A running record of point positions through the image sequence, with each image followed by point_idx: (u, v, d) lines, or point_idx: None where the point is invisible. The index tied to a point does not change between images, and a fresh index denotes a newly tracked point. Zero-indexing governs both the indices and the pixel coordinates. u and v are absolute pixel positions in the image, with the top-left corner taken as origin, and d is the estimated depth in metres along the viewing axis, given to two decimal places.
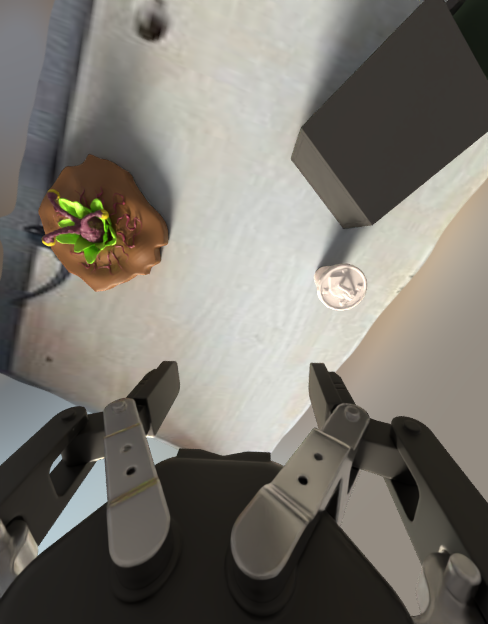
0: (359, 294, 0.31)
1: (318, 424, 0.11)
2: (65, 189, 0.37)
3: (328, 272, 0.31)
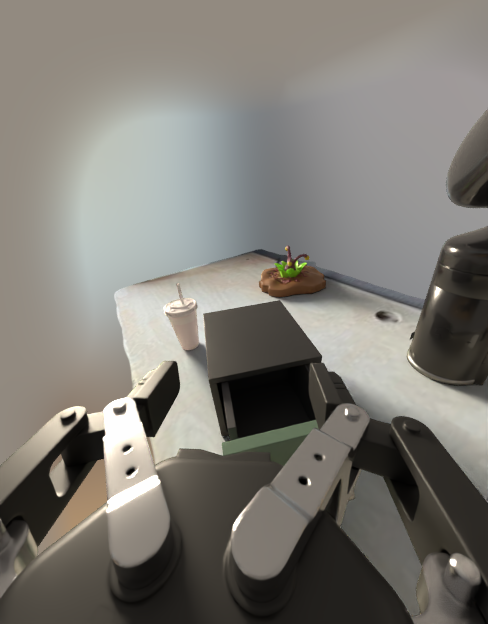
0: (168, 310, 0.44)
1: (318, 424, 0.11)
2: (313, 272, 0.73)
3: (195, 302, 0.46)
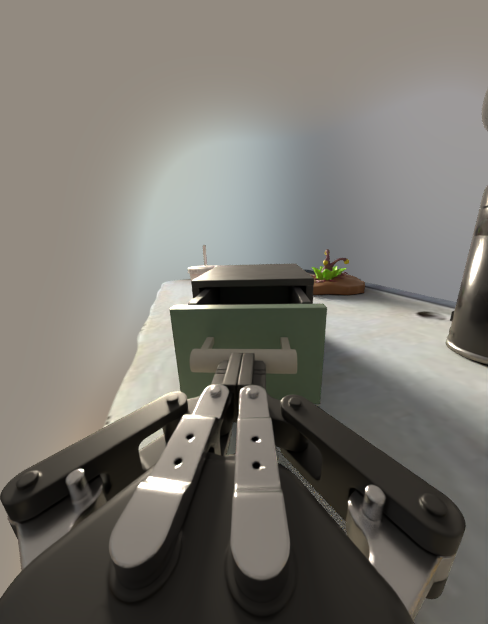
0: (191, 268, 0.48)
1: None
2: (353, 279, 0.68)
3: None
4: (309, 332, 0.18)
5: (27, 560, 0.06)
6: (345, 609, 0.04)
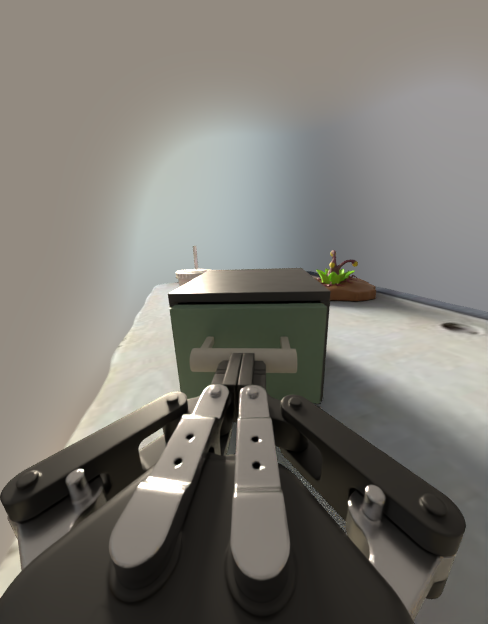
0: (179, 272, 0.41)
1: None
2: (363, 283, 0.62)
3: None
4: (309, 331, 0.18)
5: (27, 560, 0.06)
6: (345, 609, 0.04)
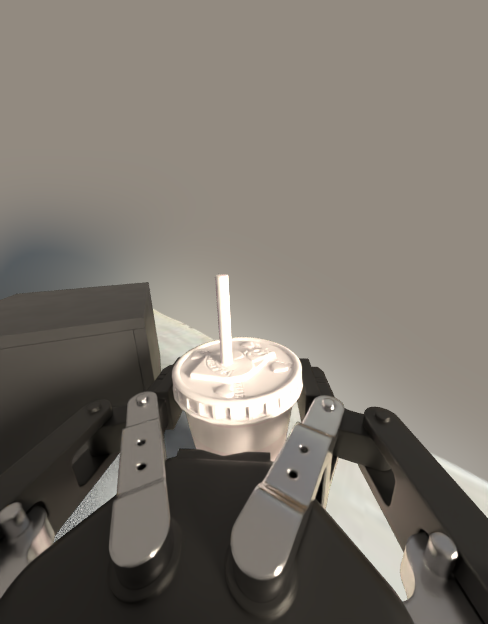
0: (266, 346, 0.13)
1: (301, 416, 0.12)
2: None
3: (176, 376, 0.11)
4: None
5: None
6: (349, 603, 0.04)
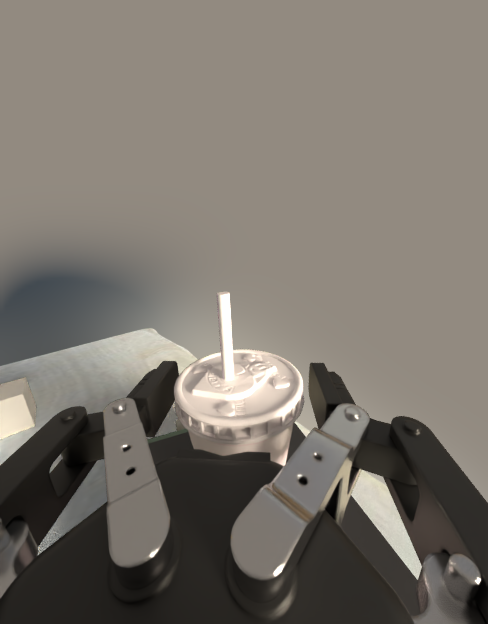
0: (267, 359, 0.13)
1: (318, 424, 0.11)
2: None
3: (178, 393, 0.11)
4: None
5: None
6: (351, 603, 0.04)
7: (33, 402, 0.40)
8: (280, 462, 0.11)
